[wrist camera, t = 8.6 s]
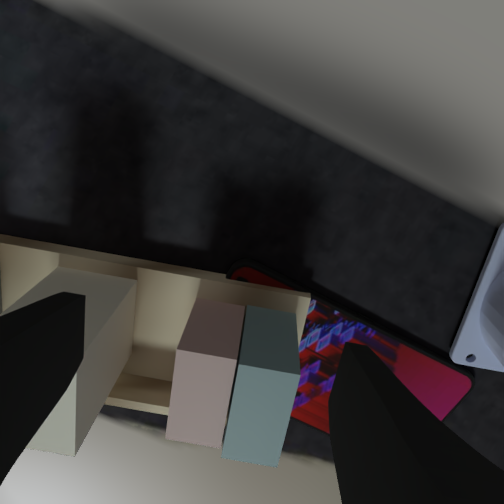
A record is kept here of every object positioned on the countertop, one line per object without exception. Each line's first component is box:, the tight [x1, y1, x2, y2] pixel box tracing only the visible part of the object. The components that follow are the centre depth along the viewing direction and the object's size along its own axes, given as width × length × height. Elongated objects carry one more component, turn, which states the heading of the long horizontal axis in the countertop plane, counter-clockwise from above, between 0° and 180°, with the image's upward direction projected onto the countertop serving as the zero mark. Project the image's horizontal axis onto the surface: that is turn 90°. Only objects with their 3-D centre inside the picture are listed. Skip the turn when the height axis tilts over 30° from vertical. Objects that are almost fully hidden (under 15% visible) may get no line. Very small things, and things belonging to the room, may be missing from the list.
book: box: [0, 266, 137, 457], centre depth 19 cm, size 4×4×7 cm
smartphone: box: [226, 258, 475, 436], centre depth 24 cm, size 8×1×15 cm
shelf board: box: [0, 234, 311, 425], centre depth 22 cm, size 18×7×3 cm, turn 81°
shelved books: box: [165, 298, 301, 467], centre depth 21 cm, size 5×5×5 cm
